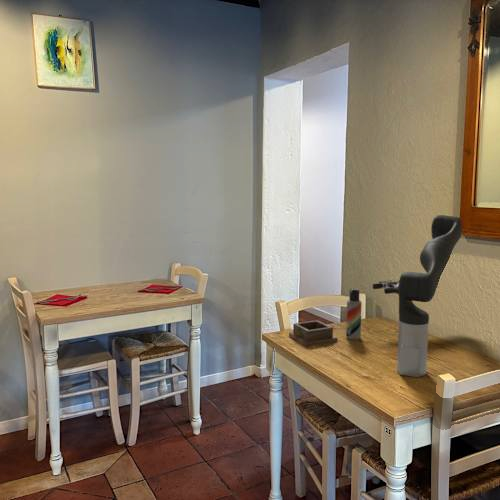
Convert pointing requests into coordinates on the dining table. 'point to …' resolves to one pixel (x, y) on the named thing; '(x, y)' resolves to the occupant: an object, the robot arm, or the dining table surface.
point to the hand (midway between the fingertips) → (378, 288)
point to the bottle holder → (312, 333)
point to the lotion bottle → (353, 316)
